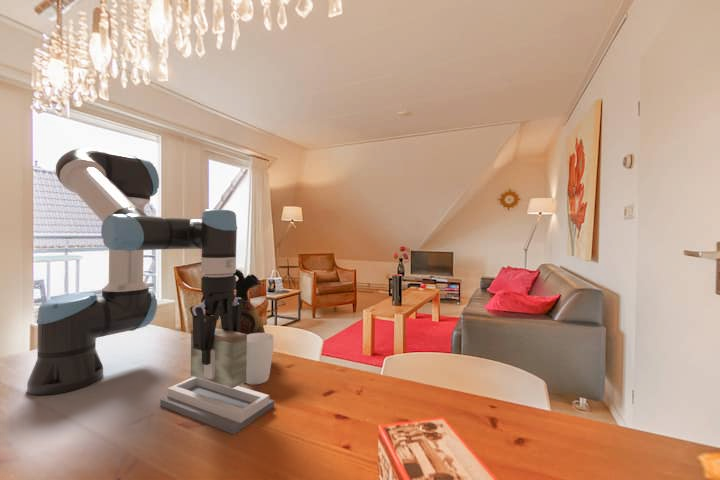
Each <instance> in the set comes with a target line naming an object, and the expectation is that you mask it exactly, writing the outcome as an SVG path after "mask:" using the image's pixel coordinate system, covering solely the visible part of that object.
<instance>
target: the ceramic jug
mask: <svg viewBox="0 0 720 480" xmlns="http://www.w3.org/2000/svg"><path fill="white" fill-rule="evenodd" d="M233 275H235V277H236V278H237V277H238V279H236V289H235V291H236V292H235V293H236V294H235V297H238V298H243V299H244V301H243V304H242V309H241V333H244V334H247V335H248V334H253V333H266V331H265V327H264V323H263V321H262V318H261V316H260V314H259V313H258V311H257V310H256V308H255V306H254V305H253V303H252V302H251V301H250V298H249V296H248V291H249V290H250V289H252V288H254V287H257V286H261V285H262V282H261V281H260V280H259V279H258V277H257V276H256V275H255V274H254V273H253V274H248V275H246V276H245V275H244V272H242V271H241V270H239V269H237V268H236V272H235V273H234V274H233ZM216 328H218V329H222V325H221V319H220V318H219V322H217V324H216ZM235 332H236V331H235Z"/></svg>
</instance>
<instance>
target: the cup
mask: <svg viewBox="0 0 720 480" xmlns="http://www.w3.org/2000/svg"><path fill="white" fill-rule="evenodd" d="M274 346H275V344H274V335H273V334H271V333H268V332H265V333H253V334H248V335H247V366H246V381H245V382H244V383H246V384H248V385H251V386H255V385H262V384H264V383H266V382H267V381H268V380H269V379H270V373H271V367H272V362H273V361H272V360H273V353H274Z"/></svg>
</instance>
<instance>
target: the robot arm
mask: <svg viewBox="0 0 720 480" xmlns="http://www.w3.org/2000/svg"><path fill="white" fill-rule="evenodd" d="M55 174H56V177H57V179H58V182H60V183H61V185H62V186H63V187H64V188H65V189H67V190H68V191H70V192H71V193H73V194H76V195H78V197H79V198H80V199H81V200H82V201H83V202H84V203H85V204H86V205H87V206H88V207H89V209H90V210H91V211H92V212H93V213H94V215H96V216H97V218H98V219H100V220H101V222H102V224H101V229H100V230H101V231H100V234H101V239H102V240H103V244H104V246H105V247H106V248H108V283H107V284H106V285H105V286H104V287H103V288H102V289H101V296H97V294H96V293H94V292H81V293H72V294H67V295H63V296H62V295H61V296H58V297H53V298H51V299H48V300H46V301H44V302H43V303H40V304H41V305H39V307H38V313H37V318H36V323H37V346H36V347H37V351H36V352H37V355H36V356H37V359H36V361H35V363H34V366H33V369H32V371H31V374H30V375H29V378H28V380H27V384H26V385H27V386H26V387H27V388H26V389H27V390H26V391H28V392H27V393H28V394H30V395H35V396H51V395H56V394H62V393H63V394H64V393H67V392H71V391H75V390H78V389H82V388H84V387H87V386H89V385H91V384H93V383H96V382H98V381H100V379H101V378H103V375H104V366H103V363H102V361H101V358H100V356H99V354H98V351H97V349H96V340H97V338H103V337H106V336H110V335H115V334H116V335H117V334H120V333H125V332H133V331H136V330H139V329H141V328H144V327H147V326H148V325H150V324H151V322H153V320H154V319H155V316H156V313H157V309H158V301H157V300H158V299H156V297H157V295H156V294H155V292H154V291H152V290H149V285H148V284H146V283H145V281H144V251H152V250H153V251H154V250H155V251H156V250H201V265H200V267H201V268H200V269H201V270H200V274H202V275H203V276H202V277H200V279H201V282H200V286H201V287H200V289H201V293H202V298H201V300H200V302H199V303H198V304H197V305H191V306H190V307H189V311H190V315H192V316H191V317H192V330H193V348H194V349H197V350H201V351H202V364H204V377H207V378H210V379H213V378H215V349H212V346H213V340H214V334H215V329H216V328H217V324H218V320H220V319H221V325H222V329H223V330H228V331H233V332H235V331H236V332H239V333H241V309H242V304H243V301H244V299H243V298H238V297H235V296H236V294H235V291H236V290H235V289H236V281H237V276H235V275H233V274H234V273H235V272H236V269H237V235H238V234H237V233H238V232H237V231H238V225H237V224H238V223H237V214H236V213H235V211H233V210H229V209H215V208H214V209H213V208H211V209H204V210H203V211H202V212H201V213H202V214H201V218H181V217H164V216H150V215H147V214H146V213H145V206H146V205H147V204H149V203H150V202H151V197H153V196H155V195H156V194H157V193H158V189H159V187H160V179H159V174H158V170H157V169H156V166H154V164H153V163H152V162H151V161H149V160H148V159H144V158H141V157H138V156H135V155H128V154H124V153H118V152H112V151H107V150H104V149H99V148H93V147H83V148H82V147H81V148H76V149H73V150H72V149H71V150H70V151H68V152H66V153H64V154H63V155H62V156H61V157H60V158H59V159H58V160H57V162H56V164H55Z"/></svg>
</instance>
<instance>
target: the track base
mask: <svg viewBox="0 0 720 480" xmlns="http://www.w3.org/2000/svg"><path fill="white" fill-rule="evenodd" d="M166 394H167V396H165V397H163V398H160V401H159V402H160V404H159V405H160V407H163V408H165V409H167V410H169V411H172V412H175V413H178V414H181V415H183V416H185V417H187V418H190V419H193V420H195V421H199V422H200V423H203V424H206V425H208V426H211V427H214V428H216V429H219V430H221V431H224V432H226V433H228V434H232V435H235V434H237V433H238V432H240V431H241V430H242V429H243V430H244V428H245V427H247V426H248V425H250V424H251V423H253V422H255V421H256V420H257V419H258V418H260V417H262V416H263V415H264V414H266V413H267V412H269V411H270V410H271V409H273V408H274V407H275V400H273V399H271V398H270V394H268V393H267V394H266V393H263V392H260V391H256V390H253V389H249V388H247V387H243V386H241V385H238V386H236V387H234V388H230V387H227V386H224V385H220V384H217V383H214V382H210V381H207V380H204V379H200V378H197V377H194V376H191V377H190V378H188V379H185V380H183V381H181V382H179V383H177V384H174V385H171V386H169V387H167V393H166Z"/></svg>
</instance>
